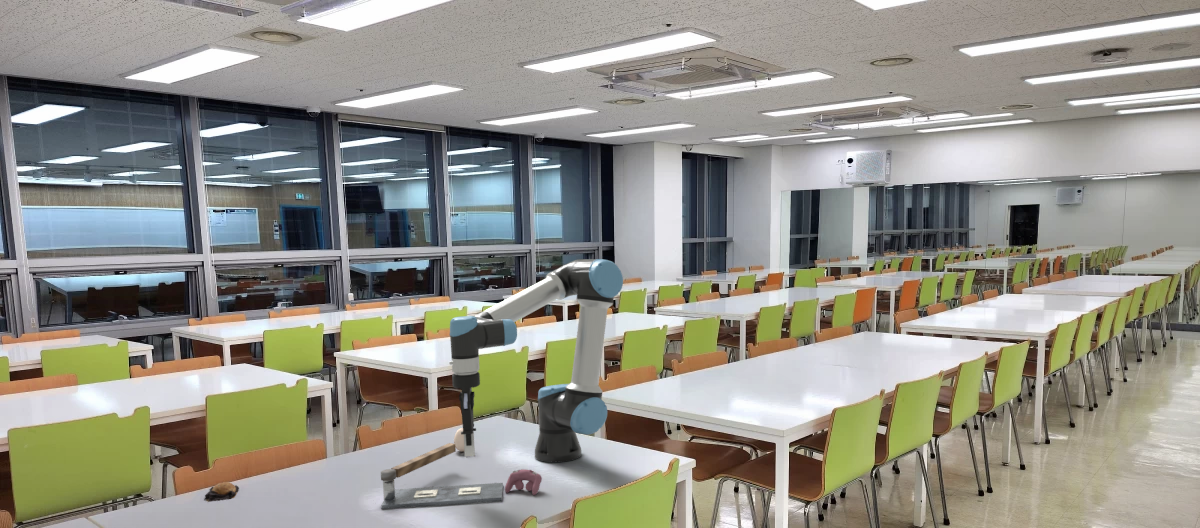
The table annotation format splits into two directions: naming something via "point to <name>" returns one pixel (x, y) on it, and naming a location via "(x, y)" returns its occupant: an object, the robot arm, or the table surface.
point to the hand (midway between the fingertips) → (469, 455)
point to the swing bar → (417, 462)
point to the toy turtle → (222, 492)
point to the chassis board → (440, 495)
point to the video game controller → (522, 475)
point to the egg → (459, 440)
